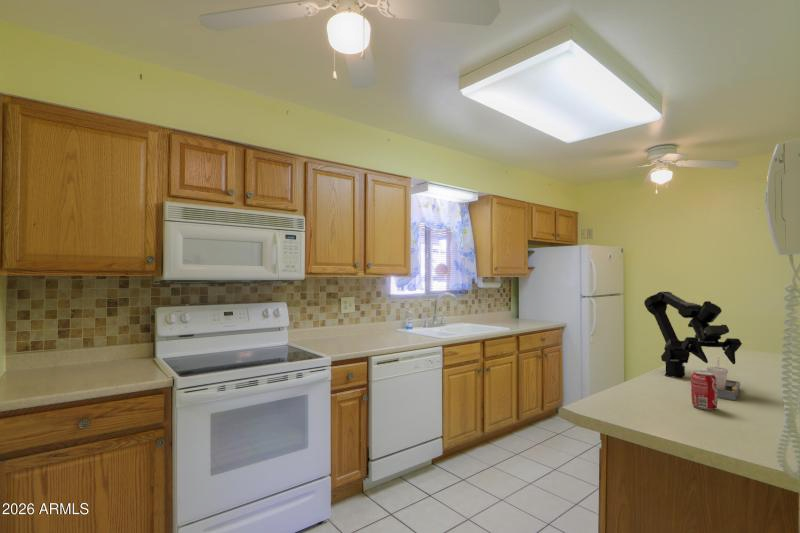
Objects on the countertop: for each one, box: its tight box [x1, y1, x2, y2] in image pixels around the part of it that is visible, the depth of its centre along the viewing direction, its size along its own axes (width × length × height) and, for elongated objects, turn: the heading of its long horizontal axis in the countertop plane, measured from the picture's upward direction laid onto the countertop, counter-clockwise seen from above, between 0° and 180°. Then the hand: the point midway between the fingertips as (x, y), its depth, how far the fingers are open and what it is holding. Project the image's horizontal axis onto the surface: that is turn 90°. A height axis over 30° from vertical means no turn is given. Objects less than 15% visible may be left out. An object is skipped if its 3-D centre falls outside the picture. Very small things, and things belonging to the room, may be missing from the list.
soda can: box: [690, 369, 718, 411], centre depth 135 cm, size 7×7×12 cm
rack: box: [717, 379, 741, 402], centre depth 154 cm, size 11×20×3 cm, turn 136°
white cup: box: [706, 357, 729, 390], centre depth 151 cm, size 6×6×14 cm
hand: (720, 363), depth 149 cm, fingers open, 9 cm apart
